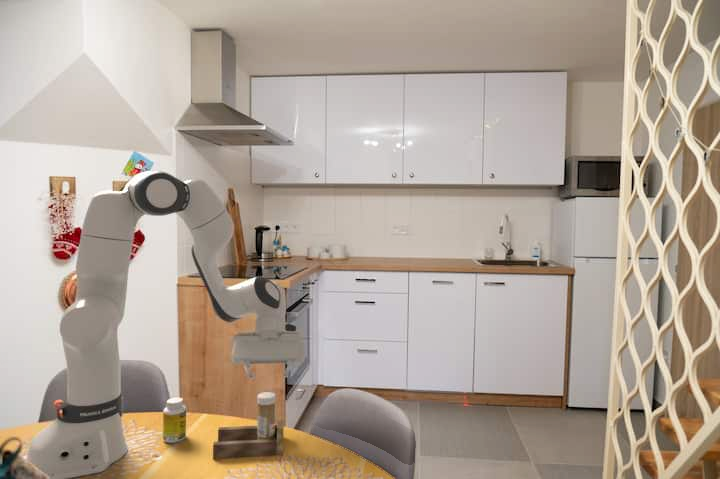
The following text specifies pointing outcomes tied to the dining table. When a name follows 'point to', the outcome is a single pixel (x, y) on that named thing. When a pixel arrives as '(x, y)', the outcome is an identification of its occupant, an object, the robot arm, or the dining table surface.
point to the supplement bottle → (174, 421)
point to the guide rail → (247, 442)
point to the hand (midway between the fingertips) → (267, 377)
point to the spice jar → (266, 415)
